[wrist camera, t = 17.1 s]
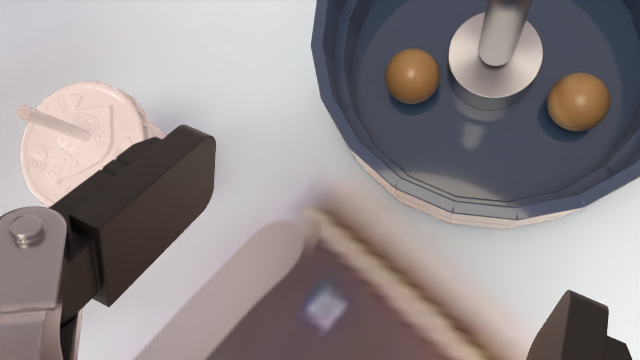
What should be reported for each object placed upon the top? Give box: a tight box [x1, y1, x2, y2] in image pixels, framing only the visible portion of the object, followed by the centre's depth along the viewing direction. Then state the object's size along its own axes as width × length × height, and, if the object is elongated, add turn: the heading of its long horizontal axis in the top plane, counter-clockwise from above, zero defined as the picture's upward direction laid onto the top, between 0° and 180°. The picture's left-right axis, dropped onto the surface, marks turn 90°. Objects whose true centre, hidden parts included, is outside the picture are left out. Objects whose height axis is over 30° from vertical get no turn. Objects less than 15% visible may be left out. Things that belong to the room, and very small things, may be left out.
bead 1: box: [385, 48, 440, 104], centre depth 32 cm, size 3×3×3 cm
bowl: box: [311, 0, 640, 229], centre depth 31 cm, size 18×18×6 cm
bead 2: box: [547, 73, 610, 131], centre depth 30 cm, size 3×3×3 cm
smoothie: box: [17, 81, 166, 207], centre depth 30 cm, size 6×6×14 cm
